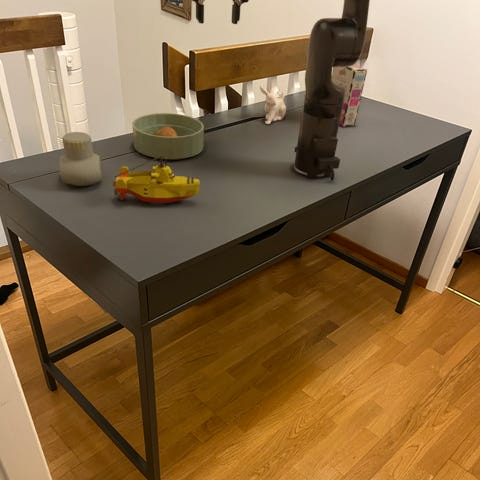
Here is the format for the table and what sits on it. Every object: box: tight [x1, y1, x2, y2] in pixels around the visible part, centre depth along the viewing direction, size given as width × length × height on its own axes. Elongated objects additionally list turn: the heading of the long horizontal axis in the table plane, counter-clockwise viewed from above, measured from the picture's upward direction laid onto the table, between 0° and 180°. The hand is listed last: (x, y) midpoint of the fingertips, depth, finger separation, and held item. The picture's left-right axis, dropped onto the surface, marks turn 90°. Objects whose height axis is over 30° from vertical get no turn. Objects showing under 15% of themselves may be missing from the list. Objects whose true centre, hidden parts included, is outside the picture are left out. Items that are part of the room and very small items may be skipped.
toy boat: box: [112, 155, 201, 204], centre depth 99 cm, size 6×18×10 cm, turn 93°
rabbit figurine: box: [259, 83, 287, 125], centre depth 147 cm, size 12×8×10 cm, turn 138°
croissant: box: [154, 127, 178, 137], centre depth 124 cm, size 5×11×4 cm, turn 21°
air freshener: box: [59, 131, 103, 187], centre depth 103 cm, size 11×8×10 cm
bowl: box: [131, 112, 205, 160], centre depth 123 cm, size 18×18×6 cm
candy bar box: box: [332, 64, 368, 128], centre depth 148 cm, size 11×5×16 cm, turn 25°
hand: (217, 23), depth 112 cm, fingers open, 8 cm apart
